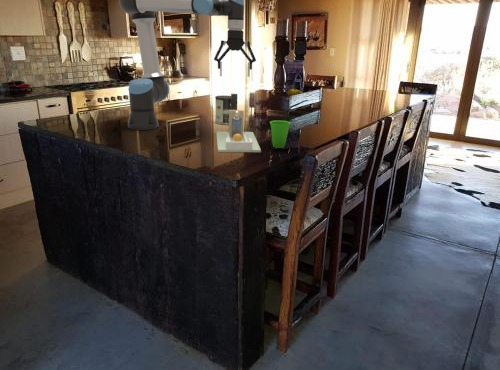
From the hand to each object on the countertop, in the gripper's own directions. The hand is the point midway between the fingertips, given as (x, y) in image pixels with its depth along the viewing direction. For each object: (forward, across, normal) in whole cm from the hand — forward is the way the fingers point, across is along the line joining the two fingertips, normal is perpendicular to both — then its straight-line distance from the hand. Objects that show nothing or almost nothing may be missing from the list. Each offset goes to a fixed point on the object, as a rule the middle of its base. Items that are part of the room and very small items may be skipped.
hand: (234, 76), depth 193 cm
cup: (+27, +18, -34) cm, 46 cm away
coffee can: (+27, -4, +17) cm, 32 cm away
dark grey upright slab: (+25, 0, -11) cm, 27 cm away
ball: (+24, 0, -29) cm, 38 cm away
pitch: (+27, 0, -25) cm, 37 cm away
